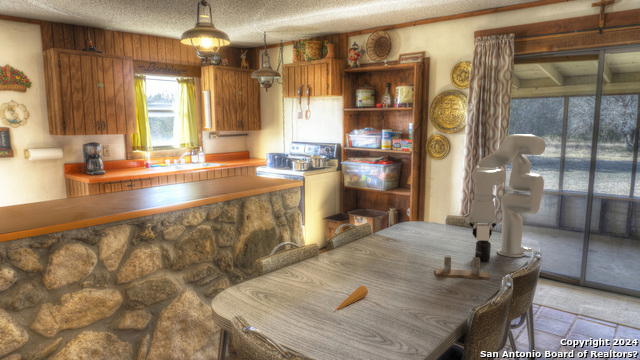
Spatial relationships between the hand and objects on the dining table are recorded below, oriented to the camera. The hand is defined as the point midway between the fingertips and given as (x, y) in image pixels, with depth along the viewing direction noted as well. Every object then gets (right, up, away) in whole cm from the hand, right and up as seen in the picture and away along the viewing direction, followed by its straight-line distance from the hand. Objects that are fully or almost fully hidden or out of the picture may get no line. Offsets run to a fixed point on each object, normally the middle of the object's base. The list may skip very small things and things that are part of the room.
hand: (481, 236), depth 185 cm
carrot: (-63, -21, -32) cm, 73 cm away
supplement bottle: (+6, -14, +15) cm, 22 cm away
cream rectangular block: (0, -1, 0) cm, 1 cm away
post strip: (-11, -16, -4) cm, 20 cm away
